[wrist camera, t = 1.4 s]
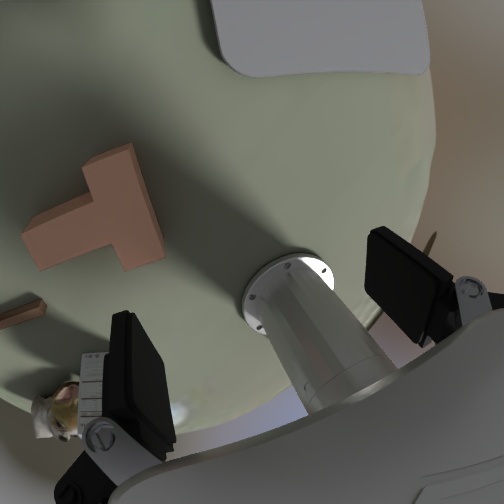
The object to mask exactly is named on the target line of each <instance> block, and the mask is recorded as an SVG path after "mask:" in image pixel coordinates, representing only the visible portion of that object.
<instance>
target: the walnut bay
mask: <svg viewBox="0 0 504 504" xmlns="http://www.w3.org/2000/svg"><path fill="white" fill-rule="evenodd" d="M46 308H47V305H46V304H45V302H44V301H43V299H40V300H37V301H34V302H32V303H29V304H26V305H24V306H21V307H18V308H16V309H13V310H11V311H8V312H5V313H3V314H0V330H2V329H4V328H7V327H10V326H13V325H16V324H19V323H22V322H25V321H28V320H31V319H34V318H37V317H39V316H42V315H45V311H46Z"/></svg>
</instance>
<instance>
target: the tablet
mask: <svg viewBox="0 0 504 504" xmlns="http://www.w3.org/2000/svg"><path fill="white" fill-rule="evenodd" d="M210 4H211V9H212V15H213V20H214V25H215V30H216V35H217V41H218V46H219V50H220V54H221V56H222V58H223V60H224V61H225V63H226V64H227V65H228V66H229V67H230V68H231V69H232V70H233V71H235V72H237V73H238V74H241V75H243V76H246V77H251V78H262V77H270V76H279V75H289V74H301V73H317V72H386V73H401V74H412V75H421V74H423V73H424V72H426V70H427V69H428V67H429V64H430V48H429V41H428V34H427V27H426V21H425V15H424V10H423V5H422V0H210Z"/></svg>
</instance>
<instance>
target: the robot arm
mask: <svg viewBox="0 0 504 504" xmlns="http://www.w3.org/2000/svg"><path fill="white" fill-rule="evenodd" d="M452 280H453V275H452V274H450V273H449V272H448V271H446V270H445V269H444V268H442V267H441V266H440V265H439V264H437V263H436V262H435V261H433V260H432V259H430V258H429V257H428V256H426V255H425V254H424V253H422V252H421V251H420V250H418V249H417V248H415V247H414V246H413V245H411V244H410V243H408V242H407V241H406V240H404V239H403V238H401V237H400V236H398V235H397V234H395V233H394V232H393V231H391V230H390V229H388V228H387V227H385V226H381V227H378V228H375V229H373V230H371V231H370V234H369V235H368V238H367V256H366V271H365V284H364V287H365V291H366V293H367V294H368V295H369V296H370V297H371V298H372V299H373V300H374V301H375V302H376V303H377V304H378V305H379V306H380V307H381V308H382V310H383V311H384V312H385V313H386V314H387V315H388V316H389V317H390V318H391V319H392V320H393V321H394V322H395V323H396V324H397V325H398V326H399V327H400V329H401V330H402V331H403V332H404V333H405V334H406V335H407V336H408V337H409V338H410V339H411V340H412V342H414V343H416V344H417V343H418V344H419V346H420V347H421V348H423V347H425V346H426V345H428V344H429V343H431V341H432V340H433V341H434V342H435V346H434V347H432V348H431V349H430V350H428V351H426V352H425V353H423V354H422V355H420V356H419V357H417V358H416V359H414V360H413V361H411V362H409V363H408V364H406V365H405V366H403V367H402V368H400V369H398V368H397V367H396V365H395V364H394V363H393V362H392V360H391V359H390V358H389V357H388V355H387V354H386V353H385V352H384V351H383V349H382V348H381V347H380V346H379V344H378V343H377V342H376V341H375V340H374V338H373V337H372V336H371V335H370V334H369V332H368V331H367V330H366V329H365V328H364V326H363V325H362V324H361V323H360V322H359V320H358V319H357V318H356V317H355V316H354V314H353V313H352V312H351V311H350V310H349V309H348V307H347V306H346V305H345V304H344V303H343V302H342V300H341V299H340V298H339V297H338V296H337V295H336V293H335V292H334V291H333V285H334V280H333V274H332V272H331V269H330V268H329V267H328V265H327V264H326V263H325V262H324V261H323V260H322V259H320V258H318V257H317V256H314V255H311V254H306V253H297V254H290V255H287V256H283V257H280V258H278V259H276V260H274V261H272V262H271V263H269V264H268V265H266V266H265V267H263V268H262V269H261V270H260V271H259V272H258V273H257V274H256V275H255V276H254V277H253V278H252V279H251V281H250V282H249V284H248V285H247V287H246V289H245V291H244V294H243V297H242V304H241V307H242V313H243V316H244V318H245V320H246V322H247V324H248V325H249V326H250V327H251V328H252V329H253V330H255V331H256V332H258V333H261V334H265V335H267V336H268V338H269V340H270V342H271V344H272V346H273V348H274V350H275V352H276V354H277V356H278V358H279V360H280V362H281V363H282V365H283V367H284V369H285V371H286V373H287V375H288V377H289V379H290V381H291V383H292V384H293V386H294V388H295V390H296V392H297V394H298V396H299V398H300V400H301V401H302V403H303V405H304V407H305V409H306V411H307V413H308V416H306V417H303V418H301V419H298V420H296V421H293V422H291V423H288V424H286V425H283V426H281V427H279V428H275V429H273V430H270V431H267V432H264V433H261V434H259V435H256V436H253V437H250V438H246V439H243V440H240V441H238V442H234V443H231V444H228V445H224V446H221V447H217V448H214V449H210V450H207V451H203V452H199V453H195V454H192V455H188V456H185V457H181V458H177V459H173V460H170V461H167V462H166V461H165V460H166V453H167V452H172V451H174V449H173V443H176V435H175V430H174V425H173V419H172V413H171V408H170V401H169V395H168V388H167V382H166V374H165V367H164V363H163V360H162V358H161V357H160V355H159V353H158V352H157V350H156V349H155V347H154V345H153V344H152V342H151V340H150V339H149V337H148V335H147V334H146V332H145V330H144V329H143V327H142V325H141V323H140V322H139V320H138V318H137V316H136V315H135V313H130V312H129V311H128V310H125V311H122V312H119V313H115V314H113V316H112V324H111V335H110V347H109V353H107V354H105V356H104V362H103V380H102V417H98V418H96V419H93V420H92V421H90V422H89V423H88V424H87V425H86V427H85V428H84V430H83V433H82V439H81V440H82V445H83V448H84V449H85V450H84V451H83V453H82V454H81V455H80V456H79V457H78V458H77V460H76V461H75V462H74V463H73V465H72V466H71V467H70V468H69V469H68V470H67V472H66V473H65V474H64V475H63V477H62V478H61V479H60V480H59V481H58V483H57V484H56V486H55V490H54V499H55V501H56V504H504V294H498V293H491V292H487V290H486V287H485V285H484V284H483V283H482V282H481V281H480V280H478V279H476V278H474V277H470V276H463V277H460V278H458V279H457V280H456V282H455V283H454V282H452Z"/></svg>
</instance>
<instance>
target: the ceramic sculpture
mask: <svg viewBox="0 0 504 504" xmlns="http://www.w3.org/2000/svg"><path fill="white" fill-rule="evenodd" d="M78 396H79V382H65V383H63V384H62V385H61V386H60V387H58V389H57V390H56V392H55V393H54V394H53V396H52V397H49V398H47V399H45V398H43V397H41V396H39V397H36V398H35V399H34V400H33V403H32V407H31V412H32V421H33V429H34V433H35V437H36V438H41V437H52V436H54V437H55V438H57V439H59V440H61V441H64V442H67V441H68V440H69V439H70V437H78V433H77V417H78Z"/></svg>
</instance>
